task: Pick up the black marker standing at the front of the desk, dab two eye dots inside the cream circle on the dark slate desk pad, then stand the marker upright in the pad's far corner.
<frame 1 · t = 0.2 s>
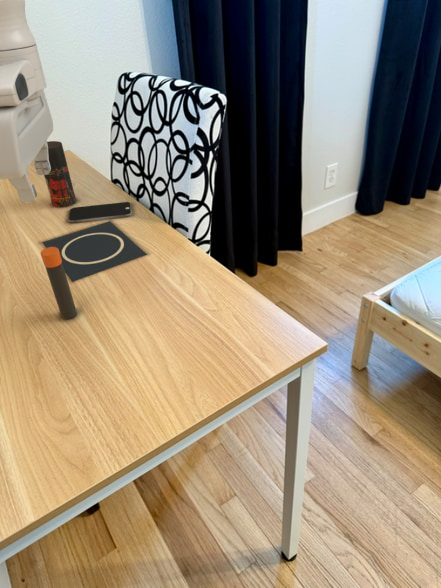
hand: (37, 185, 59), 24 cm above the table, tool pointing down, fingers open, 8 cm apart
marker: (69, 315, 74), on the table
smartphone: (101, 214, 106), on the table
deodorant: (64, 203, 111), on the table
desk pad: (93, 249, 92), on the table
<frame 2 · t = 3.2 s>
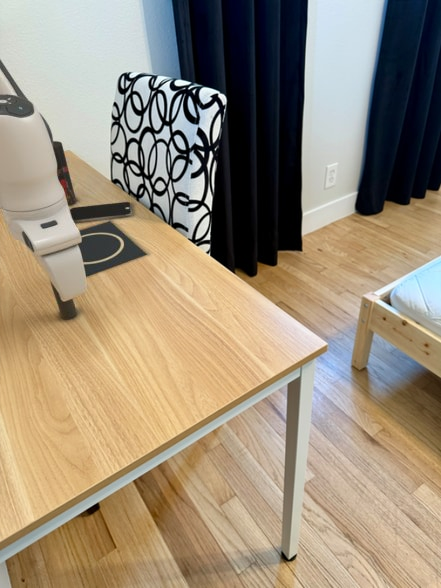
hand: (62, 292, 71), 5 cm above the table, tool pointing down, fingers closed on marker, 2 cm apart
marker: (69, 315, 74), on the table, touching gripper
everything else where it was.
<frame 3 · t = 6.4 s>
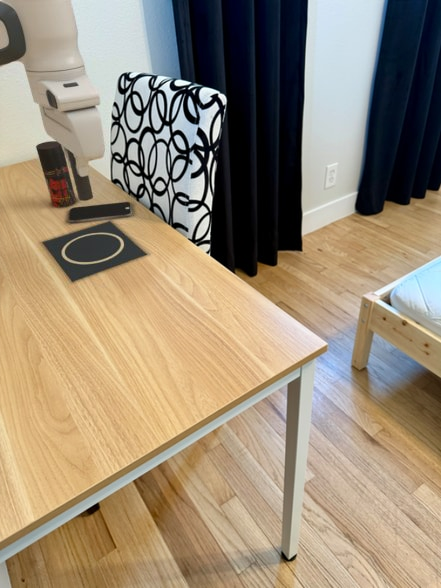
hand: (79, 171, 76), 19 cm above the table, tool pointing down, fingers closed on marker, 2 cm apart
marker: (86, 197, 79), point 14 cm above the table, touching gripper
everything else where it was.
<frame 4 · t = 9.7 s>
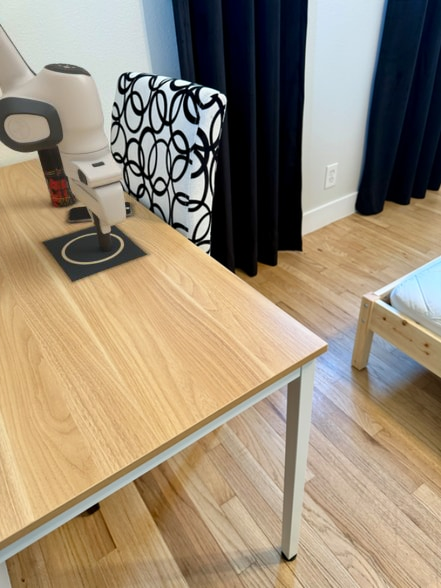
hand: (102, 228, 88), 5 cm above the table, tool pointing down, fingers closed on marker, 2 cm apart
marker: (106, 249, 91), resting on desk pad, touching gripper
everything else where it was.
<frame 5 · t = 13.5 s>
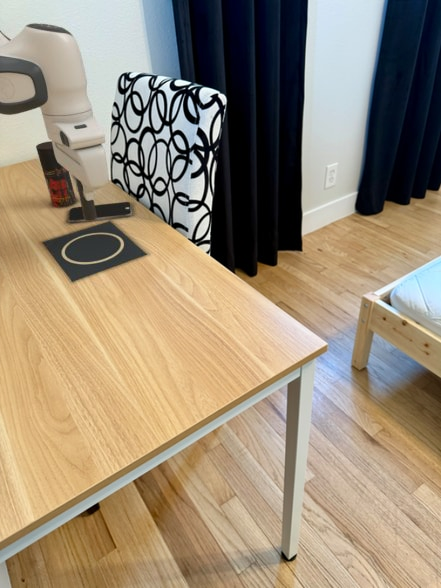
hand: (86, 195, 88), 11 cm above the table, tool pointing down, fingers closed on marker, 2 cm apart
marker: (90, 218, 91), point 6 cm above the table, touching gripper
everything else where it was.
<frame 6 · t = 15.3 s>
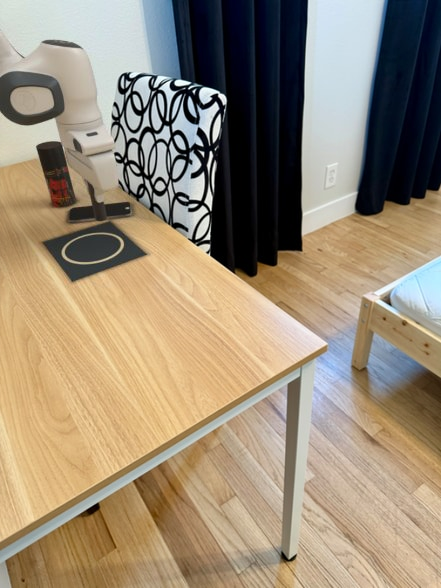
hand: (96, 198, 94), 8 cm above the table, tool pointing down, fingers closed on marker, 2 cm apart
marker: (101, 218, 97), point 3 cm above the table, touching gripper
everything else where it was.
when the fingers open (5 cm above the table, at t = 16.4 s): marker stays where it is, resting on desk pad.
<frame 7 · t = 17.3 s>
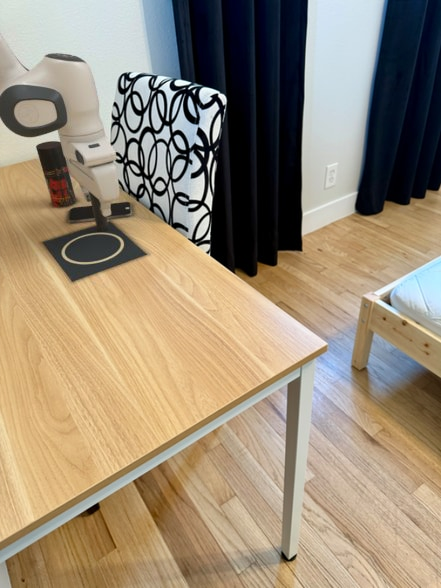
hand: (97, 207, 95), 6 cm above the table, tool pointing down, fingers open, 8 cm apart
marker: (103, 229, 98), resting on desk pad
everything else where it was.
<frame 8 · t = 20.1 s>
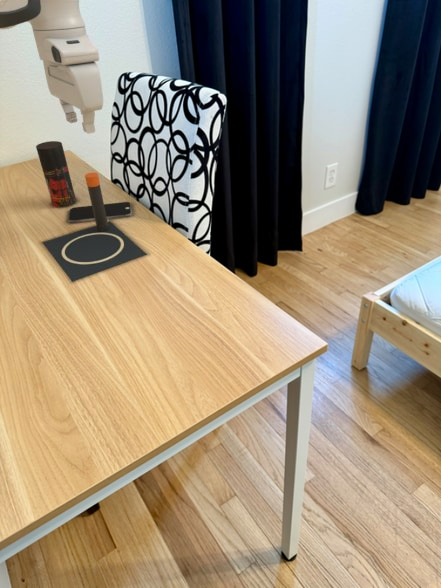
hand: (80, 126, 85), 23 cm above the table, tool pointing down, fingers open, 8 cm apart
nothing on the table moved.
at the end: marker 0.3 cm from the target spot on the desk pad, point 0.3 cm above the desk pad's base; marker tilted 0°; the gripper is holding nothing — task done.
